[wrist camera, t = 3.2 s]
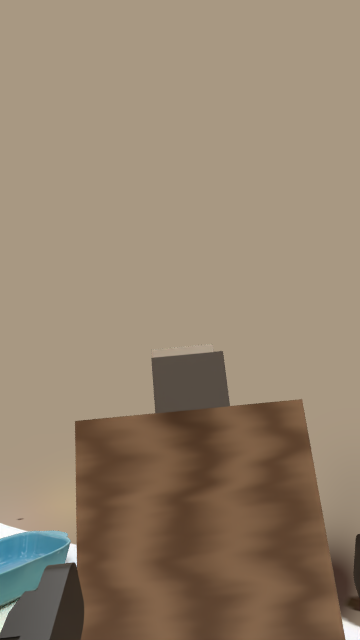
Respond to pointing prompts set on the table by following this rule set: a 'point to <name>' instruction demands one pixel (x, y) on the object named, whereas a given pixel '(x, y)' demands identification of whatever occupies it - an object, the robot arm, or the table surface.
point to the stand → (203, 527)
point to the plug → (189, 379)
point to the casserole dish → (28, 560)
